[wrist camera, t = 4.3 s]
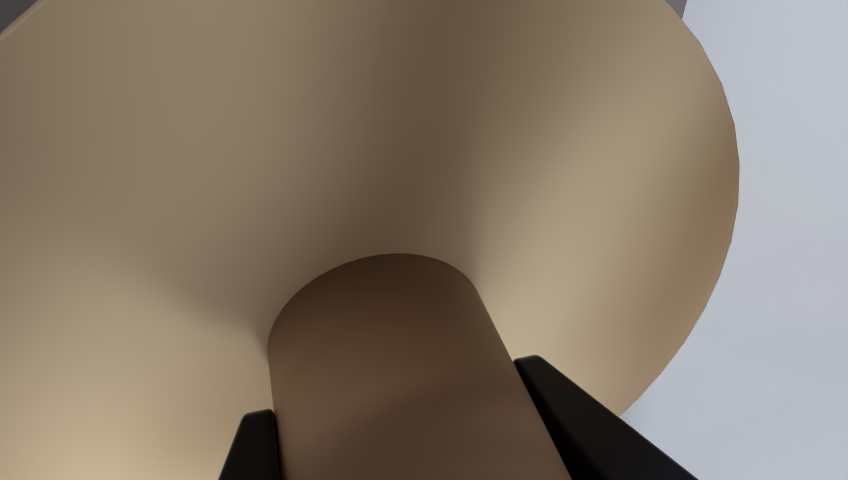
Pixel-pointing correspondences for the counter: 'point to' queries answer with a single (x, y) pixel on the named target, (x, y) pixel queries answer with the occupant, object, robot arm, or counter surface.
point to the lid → (345, 228)
